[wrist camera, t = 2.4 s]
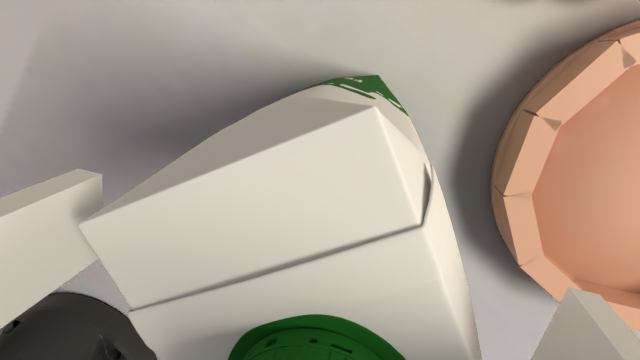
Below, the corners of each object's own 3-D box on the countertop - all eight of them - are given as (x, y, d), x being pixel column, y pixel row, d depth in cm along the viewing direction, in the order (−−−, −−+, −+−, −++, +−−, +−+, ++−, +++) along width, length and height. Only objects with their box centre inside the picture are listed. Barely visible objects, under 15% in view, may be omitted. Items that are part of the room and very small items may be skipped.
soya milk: (316, 217, 27) (176, 568, 9) (266, 105, 25) (-67, 252, 7) (431, 180, 25) (576, 551, 6) (386, 52, 23) (406, 46, 4)
